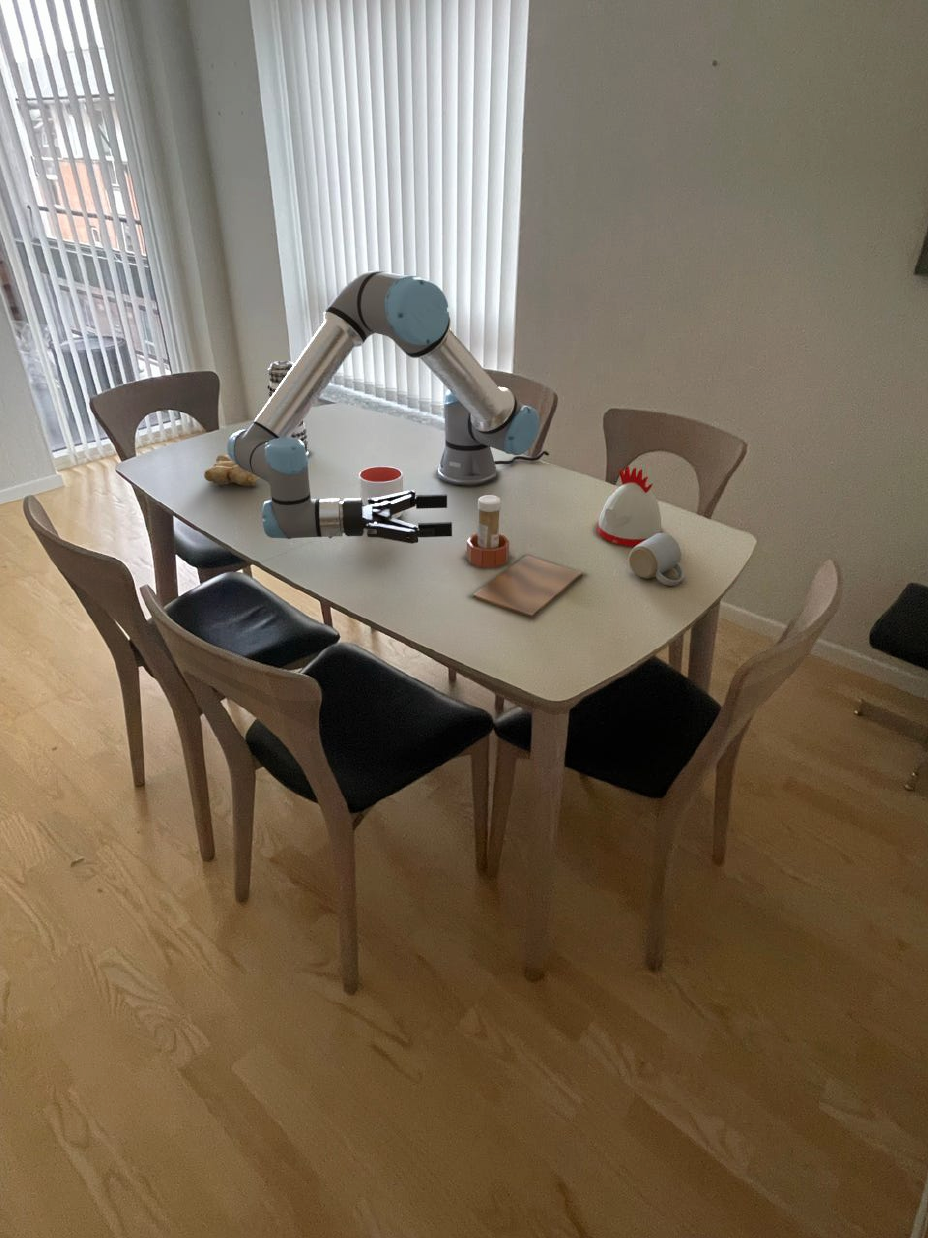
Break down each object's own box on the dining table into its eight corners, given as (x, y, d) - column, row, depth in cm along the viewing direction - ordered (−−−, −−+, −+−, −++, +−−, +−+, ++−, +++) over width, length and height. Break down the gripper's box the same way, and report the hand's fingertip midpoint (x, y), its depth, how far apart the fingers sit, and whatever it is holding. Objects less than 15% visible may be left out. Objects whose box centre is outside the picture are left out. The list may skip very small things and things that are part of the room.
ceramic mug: (623, 572, 151) (628, 538, 147) (648, 559, 155) (654, 526, 151) (666, 593, 144) (673, 558, 140) (691, 579, 149) (698, 545, 145)
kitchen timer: (621, 514, 175) (629, 452, 167) (672, 532, 167) (683, 469, 159) (585, 531, 167) (591, 468, 159) (636, 552, 158) (646, 486, 150)
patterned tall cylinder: (306, 460, 203) (296, 367, 190) (273, 460, 203) (260, 366, 190) (313, 449, 211) (303, 358, 197) (280, 448, 211) (269, 358, 197)
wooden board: (526, 557, 156) (526, 555, 156) (581, 575, 150) (582, 572, 150) (473, 597, 142) (473, 594, 142) (531, 618, 136) (531, 615, 136)
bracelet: (481, 545, 161) (481, 528, 159) (515, 556, 157) (516, 539, 154) (459, 560, 155) (459, 543, 153) (494, 571, 151) (494, 554, 149)
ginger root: (246, 493, 180) (235, 461, 177) (195, 499, 186) (184, 468, 183) (280, 473, 193) (271, 443, 189) (232, 479, 199) (221, 450, 195)
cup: (397, 525, 169) (395, 484, 163) (355, 521, 170) (352, 480, 165) (409, 507, 177) (407, 468, 172) (369, 504, 179) (366, 464, 173)
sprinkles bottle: (500, 562, 154) (503, 502, 147) (479, 564, 153) (481, 504, 146) (495, 552, 158) (497, 493, 151) (474, 554, 157) (475, 495, 150)
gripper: (347, 509, 160) (445, 506, 162) (341, 563, 139) (453, 559, 141) (344, 476, 156) (445, 474, 158) (338, 527, 135) (454, 524, 137)
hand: (449, 514), depth 149 cm, fingers open, 13 cm apart
